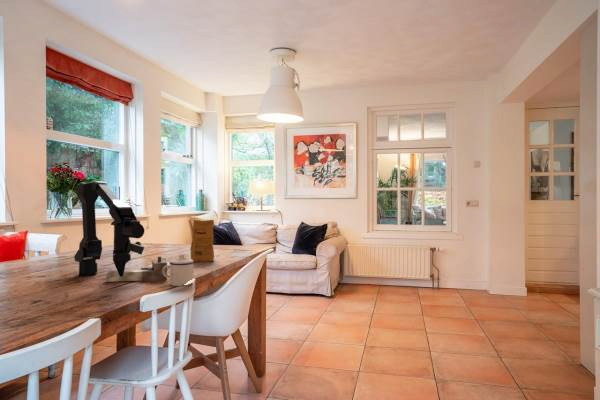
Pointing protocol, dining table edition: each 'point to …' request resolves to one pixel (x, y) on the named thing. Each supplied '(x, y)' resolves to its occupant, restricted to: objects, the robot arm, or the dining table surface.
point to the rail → (125, 275)
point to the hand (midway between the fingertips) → (121, 275)
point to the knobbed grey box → (155, 271)
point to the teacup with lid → (180, 270)
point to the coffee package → (202, 241)
